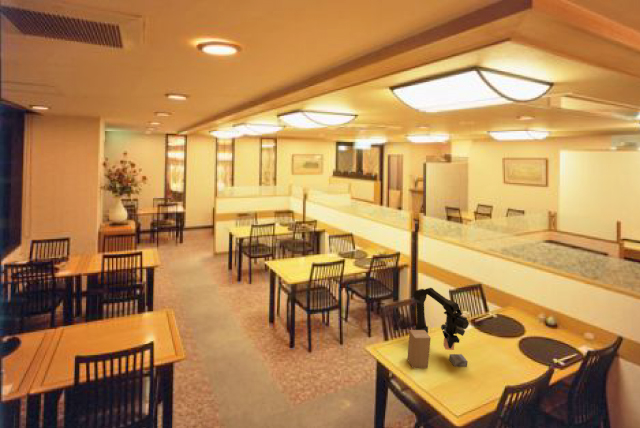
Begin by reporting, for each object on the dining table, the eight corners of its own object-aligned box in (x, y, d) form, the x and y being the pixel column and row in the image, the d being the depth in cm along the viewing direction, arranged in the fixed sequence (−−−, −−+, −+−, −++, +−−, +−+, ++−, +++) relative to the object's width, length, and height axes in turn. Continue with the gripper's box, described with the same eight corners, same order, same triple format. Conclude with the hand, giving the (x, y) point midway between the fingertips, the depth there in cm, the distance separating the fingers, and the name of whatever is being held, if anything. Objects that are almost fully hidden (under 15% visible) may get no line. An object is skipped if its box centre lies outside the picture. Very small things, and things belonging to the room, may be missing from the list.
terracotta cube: (445, 349, 223) (446, 341, 222) (443, 345, 228) (444, 337, 227) (453, 349, 223) (454, 342, 222) (451, 345, 228) (452, 338, 227)
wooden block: (407, 359, 229) (409, 329, 226) (422, 358, 230) (424, 329, 227) (412, 368, 220) (414, 337, 216) (428, 368, 220) (430, 337, 217)
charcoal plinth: (454, 367, 223) (455, 361, 222) (449, 359, 231) (449, 354, 230) (466, 367, 223) (467, 361, 223) (461, 359, 231) (461, 354, 231)
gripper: (469, 330, 213) (467, 354, 215) (459, 316, 231) (457, 339, 234) (450, 329, 214) (448, 353, 216) (441, 315, 232) (439, 338, 234)
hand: (448, 346), depth 225 cm, fingers closed on terracotta cube, 5 cm apart
